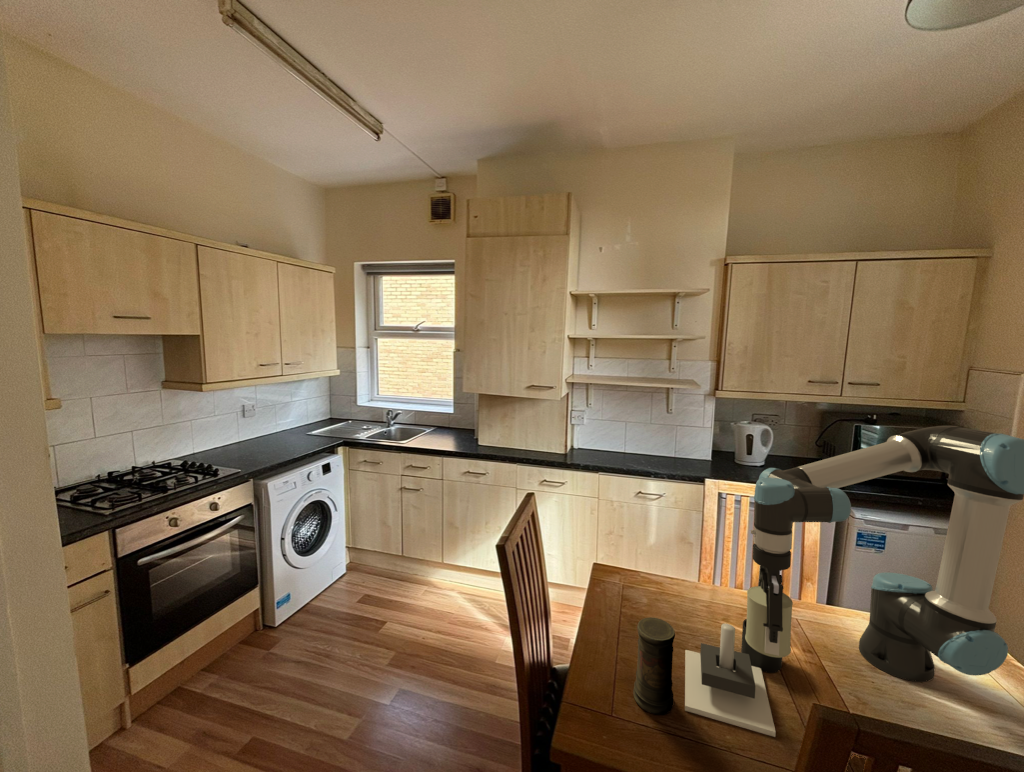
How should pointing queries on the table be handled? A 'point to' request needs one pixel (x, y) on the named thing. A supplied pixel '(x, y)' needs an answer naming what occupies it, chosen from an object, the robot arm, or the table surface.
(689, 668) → the peg stand
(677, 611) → the table surface
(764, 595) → the can
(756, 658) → the mug
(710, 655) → the grey square plate
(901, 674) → the robot arm
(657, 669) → the container
